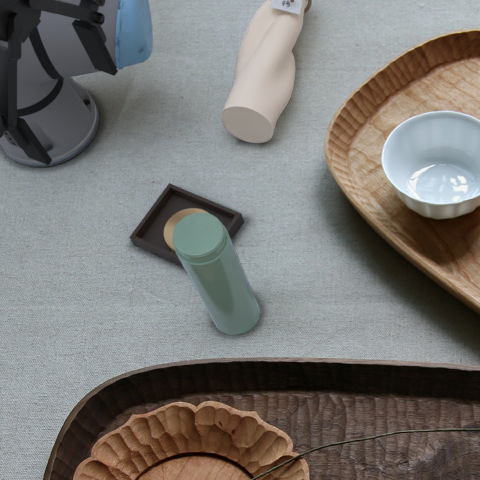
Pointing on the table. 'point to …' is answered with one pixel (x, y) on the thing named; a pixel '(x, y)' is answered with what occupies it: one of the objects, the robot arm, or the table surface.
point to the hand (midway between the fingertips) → (74, 113)
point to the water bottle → (264, 70)
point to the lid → (173, 222)
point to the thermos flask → (216, 272)
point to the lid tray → (170, 203)
